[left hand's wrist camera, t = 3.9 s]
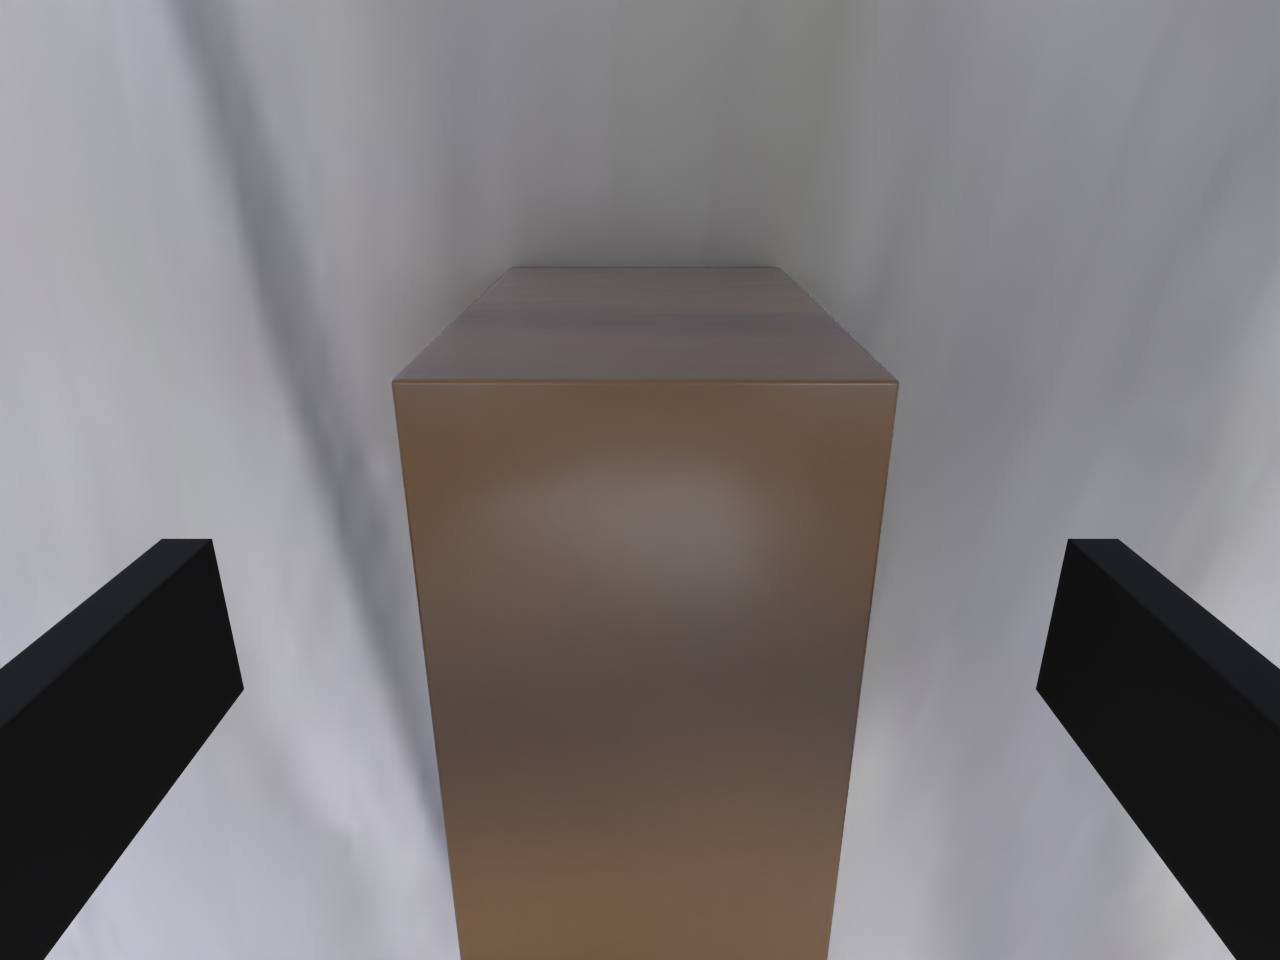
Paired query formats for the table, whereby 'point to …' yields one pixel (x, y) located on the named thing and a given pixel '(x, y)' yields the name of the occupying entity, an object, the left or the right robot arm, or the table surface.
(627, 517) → the box
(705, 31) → the table surface
